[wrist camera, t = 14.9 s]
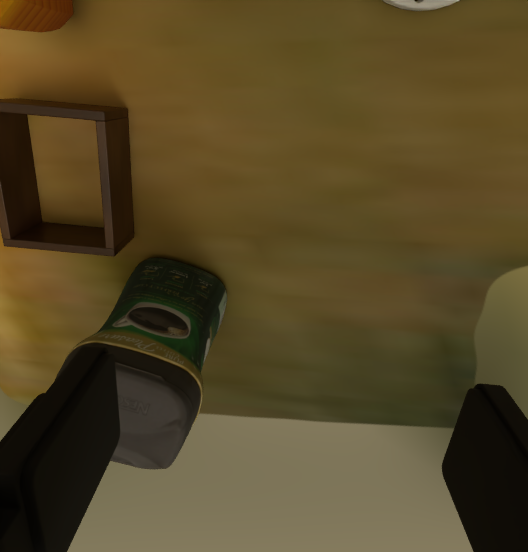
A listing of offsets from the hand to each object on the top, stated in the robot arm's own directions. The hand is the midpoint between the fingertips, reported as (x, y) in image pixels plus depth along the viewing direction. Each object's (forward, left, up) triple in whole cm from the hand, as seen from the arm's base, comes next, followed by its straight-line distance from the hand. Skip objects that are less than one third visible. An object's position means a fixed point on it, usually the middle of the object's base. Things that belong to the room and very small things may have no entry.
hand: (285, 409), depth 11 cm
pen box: (0, -18, -28) cm, 34 cm away
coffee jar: (+12, -9, -28) cm, 32 cm away
